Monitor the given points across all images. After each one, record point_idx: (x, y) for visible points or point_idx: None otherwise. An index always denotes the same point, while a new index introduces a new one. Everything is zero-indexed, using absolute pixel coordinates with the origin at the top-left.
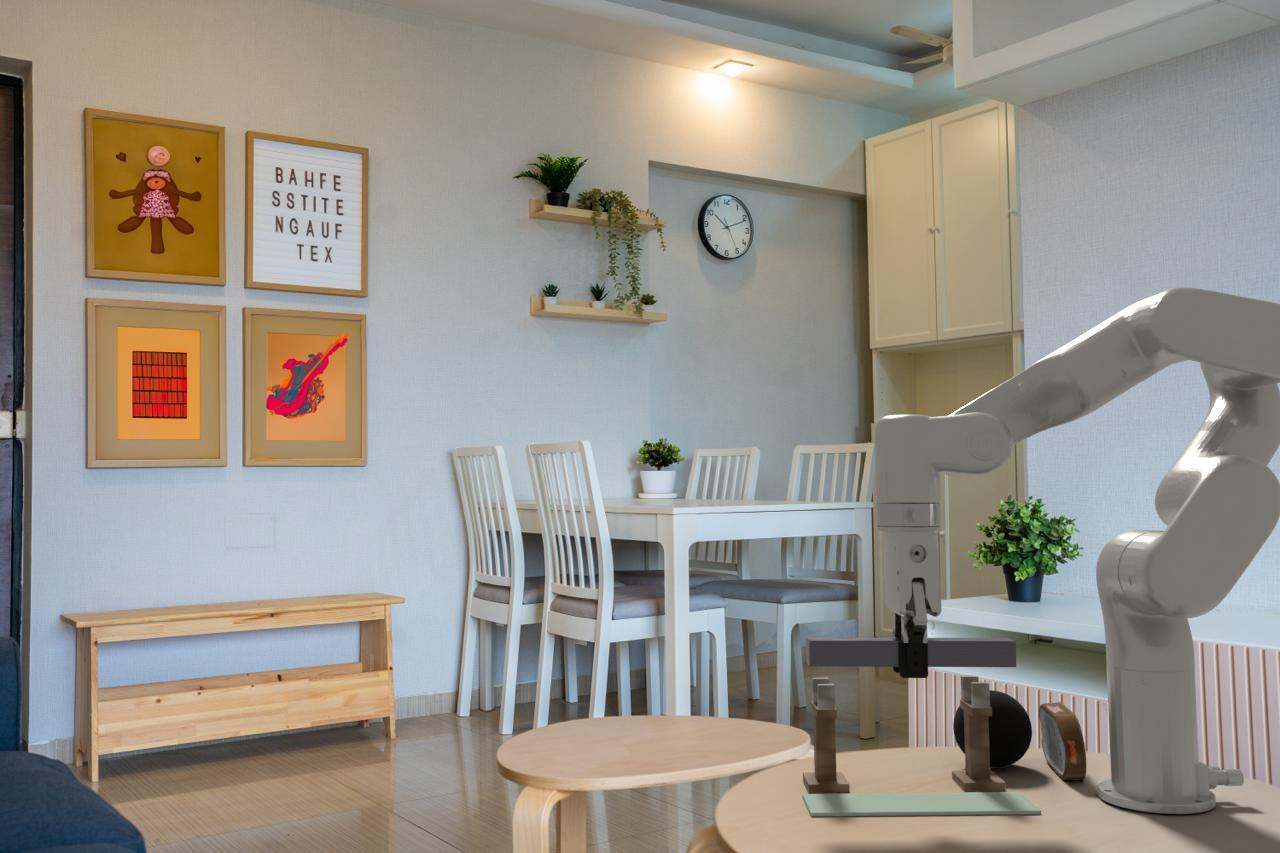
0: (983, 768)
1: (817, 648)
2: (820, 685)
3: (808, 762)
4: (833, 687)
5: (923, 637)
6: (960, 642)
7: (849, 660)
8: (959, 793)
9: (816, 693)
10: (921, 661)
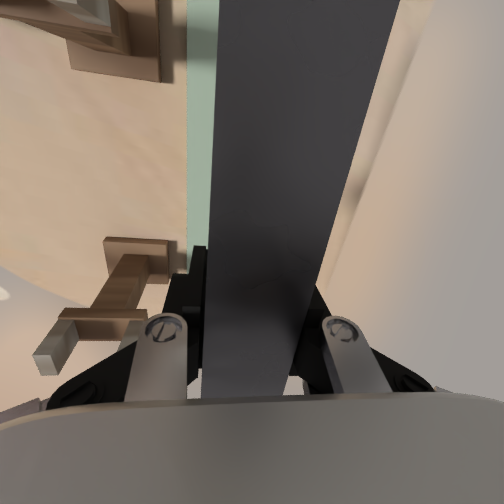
0: (122, 22)
1: None
2: None
3: (9, 257)
4: None
5: (375, 350)
6: (343, 179)
7: None
8: (192, 105)
9: (70, 348)
10: (317, 292)
